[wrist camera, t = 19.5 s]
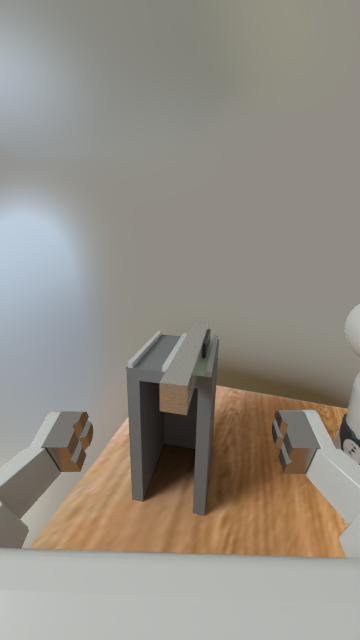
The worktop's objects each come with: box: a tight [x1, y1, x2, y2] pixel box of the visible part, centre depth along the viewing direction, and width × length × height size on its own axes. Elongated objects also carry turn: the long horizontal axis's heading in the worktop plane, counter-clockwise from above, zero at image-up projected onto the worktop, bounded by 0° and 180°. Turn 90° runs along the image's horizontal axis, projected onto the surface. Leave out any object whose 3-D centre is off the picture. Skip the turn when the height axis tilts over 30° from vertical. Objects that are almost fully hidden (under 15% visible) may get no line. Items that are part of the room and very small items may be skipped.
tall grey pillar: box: [126, 331, 219, 516], centre depth 46 cm, size 16×13×27 cm
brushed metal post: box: [159, 322, 210, 415], centre depth 37 cm, size 24×4×4 cm, turn 168°
